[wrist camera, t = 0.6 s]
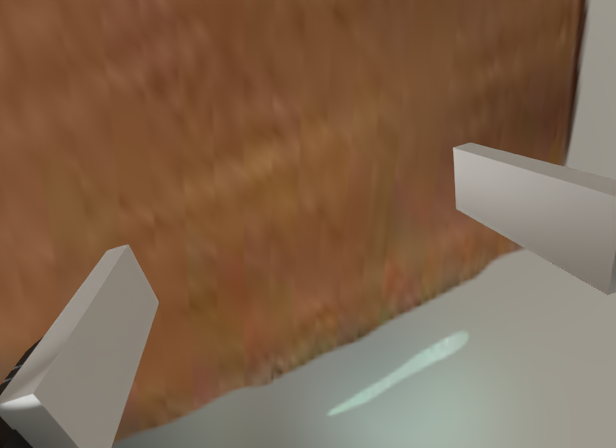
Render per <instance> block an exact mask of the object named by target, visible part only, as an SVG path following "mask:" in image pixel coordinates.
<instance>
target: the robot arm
mask: <svg viewBox="0 0 616 448" xmlns="http://www.w3.org/2000/svg"><path fill="white" fill-rule="evenodd" d="M453 154H454V174H455V193H456V209H457V210H459V211H461V212H463V213H464V214H466V215H468V216H470V217H471V218H473V219H475V220H477V221H478V222H480V223H482V224H484V225H485V226H487V227H489V228H491V229H493V230H494V231H496V232H498V233H500V234H501V235H503V236H505V237H507V238H508V239H510V240H512V241H514V242H515V243H517V244H519V245H521V246H522V247H524V248H526V249H528V250H530V251H531V252H533V253H535V254H537V255H538V256H540V257H542V258H544V259H545V260H547V261H549V262H551V263H552V264H554V265H556V266H558V267H559V268H561V269H563V270H565V271H567V272H568V273H570V274H572V275H574V276H575V277H577V278H579V279H581V280H582V281H584V282H586V283H588V284H589V285H591V286H593V287H594V288H596V289H598V290H600V291H602V292H604V293H605V294H607V295H609V294H612V293H615V292H616V180H613V179H610V178H606V177H602V176H598V175H595V174H591V173H587V172H583V171H579V170H575V169H571V168H567V167H564V166H560V165H556V164H552V163H548V162H544V161H540V160H536V159H532V158H529V157H525V156H521V155H517V154H513V153H509V152H505V151H501V150H497V149H494V148H490V147H486V146H482V145H478V144H474V143H467V144H464V145H460V146H457V147H454V148H453ZM158 304H159V301H158V300H157V298H156V296H155V294H154V292H153V290H152V288H151V286H150V284H149V283H148V281H147V279H146V277H145V275H144V273H143V271H142V269H141V267H140V266H139V264H138V262H137V260H136V258H135V256H134V254H133V252H132V250H131V249H130V247H129V245H128V244H127V245H124V246H120V247H117V248H114V249H110V250H107V251H106V253H105V254H104V256H103V257H102V258H101V260H100V261H99V262H98V264H97V265H96V266H95V268H94V269H93V270H92V272H91V273H90V275H89V276H88V277H87V279H86V280H85V281H84V283H83V284H82V285H81V287H80V288H79V289H78V291H77V292H76V294H75V295H74V296H73V298H72V299H71V300H70V302H69V303H68V304H67V306H66V307H65V308H64V310H63V311H62V313H61V314H60V315H59V317H58V318H57V319H56V321H55V322H54V323H53V325H52V326H51V327H50V329H49V330H48V332H47V333H46V334H45V336H43V337H42V338H41V339H40V340H39V341H38V342H37V343H35V344H34V345H33V346H32V347H31V348H30V349H29V350H27V351H26V352H25V354H24V355H23V356H22V358H21V359H20V360H19V362H18V363H17V364H16V366H15V367H14V368H15V370H12V371H11V372H10V373H9V375H8V376H7V377H6V379H5V380H4V381H5V383H3V384H1V385H0V448H111V447H112V444H113V441H114V438H115V435H116V432H117V429H118V426H119V423H120V420H121V417H122V414H123V411H124V407H125V404H126V401H127V398H128V395H129V392H130V389H131V386H132V383H133V380H134V377H135V374H136V371H137V368H138V365H139V362H140V359H141V356H142V353H143V350H144V347H145V344H146V341H147V338H148V335H149V332H150V329H151V326H152V322H153V319H154V316H155V313H156V310H157V307H158Z"/></svg>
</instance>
